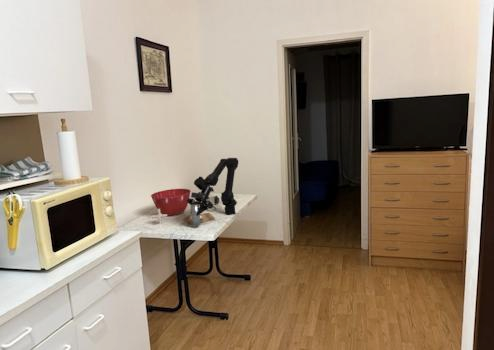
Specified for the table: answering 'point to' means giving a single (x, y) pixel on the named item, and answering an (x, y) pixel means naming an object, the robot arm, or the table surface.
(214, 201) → the pneumatic valve
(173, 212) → the mixing bowl
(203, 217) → the mounting plate
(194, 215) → the steel hub
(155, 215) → the pipe connector
